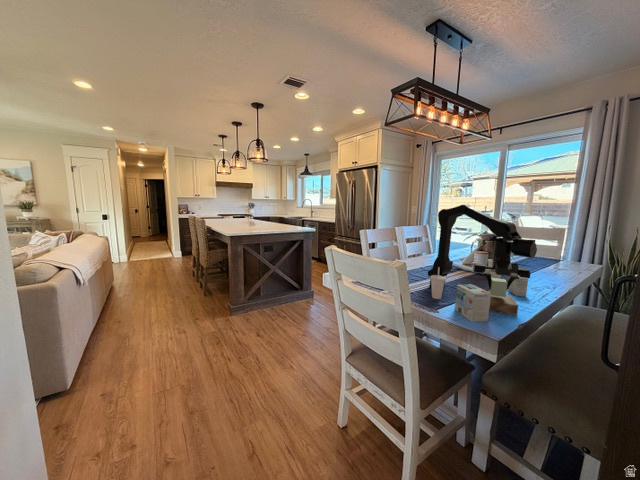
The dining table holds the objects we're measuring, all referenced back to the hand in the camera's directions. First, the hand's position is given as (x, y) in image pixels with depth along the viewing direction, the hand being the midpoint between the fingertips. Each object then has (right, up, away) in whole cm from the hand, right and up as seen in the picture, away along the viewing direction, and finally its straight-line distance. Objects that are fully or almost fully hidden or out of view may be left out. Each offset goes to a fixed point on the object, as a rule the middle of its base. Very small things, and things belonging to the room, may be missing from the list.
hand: (497, 290), depth 106 cm
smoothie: (-20, -6, +11) cm, 24 cm away
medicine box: (+22, -5, +18) cm, 29 cm away
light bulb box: (-15, -8, -7) cm, 19 cm away
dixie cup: (+29, -1, +45) cm, 54 cm away
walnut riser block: (0, -7, +1) cm, 7 cm away
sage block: (0, -2, 0) cm, 2 cm away
